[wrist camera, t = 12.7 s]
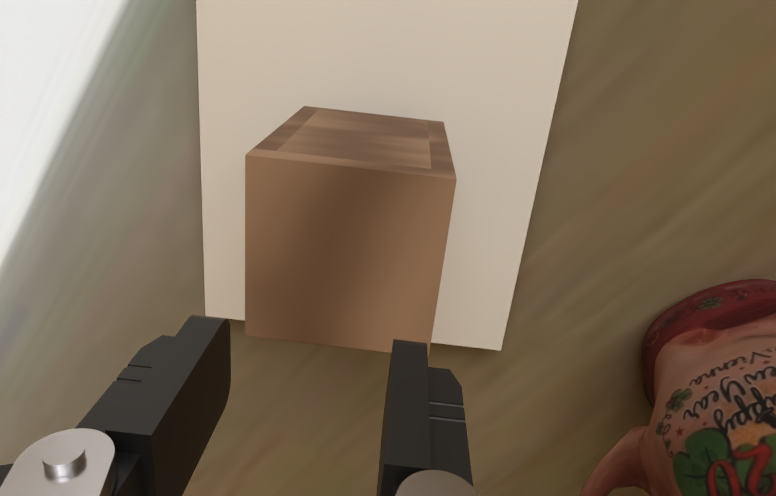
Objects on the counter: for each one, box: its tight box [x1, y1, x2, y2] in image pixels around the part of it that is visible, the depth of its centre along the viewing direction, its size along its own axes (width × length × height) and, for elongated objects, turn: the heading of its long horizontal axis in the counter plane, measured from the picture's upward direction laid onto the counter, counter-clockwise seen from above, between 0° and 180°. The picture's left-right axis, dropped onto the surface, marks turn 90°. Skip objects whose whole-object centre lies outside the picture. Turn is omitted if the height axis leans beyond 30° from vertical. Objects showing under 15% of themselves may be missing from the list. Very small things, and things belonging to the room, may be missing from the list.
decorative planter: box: [580, 279, 776, 496], centre depth 25 cm, size 20×12×14 cm, turn 124°
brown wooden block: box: [245, 106, 457, 357], centre depth 21 cm, size 6×6×9 cm
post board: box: [196, 0, 578, 351], centre depth 23 cm, size 16×18×11 cm
